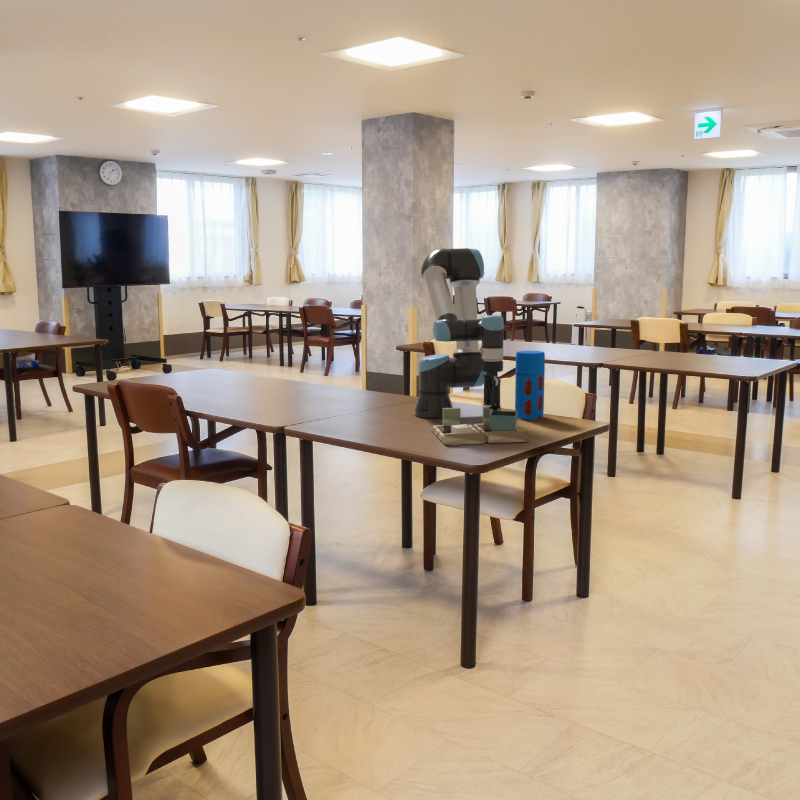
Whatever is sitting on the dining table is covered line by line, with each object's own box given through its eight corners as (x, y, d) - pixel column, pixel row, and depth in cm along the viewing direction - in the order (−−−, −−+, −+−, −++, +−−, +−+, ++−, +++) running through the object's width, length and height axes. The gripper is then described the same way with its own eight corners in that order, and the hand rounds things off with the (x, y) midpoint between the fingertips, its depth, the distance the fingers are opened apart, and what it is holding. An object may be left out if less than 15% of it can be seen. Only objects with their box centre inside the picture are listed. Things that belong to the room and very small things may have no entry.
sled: (432, 430, 292) (431, 408, 291) (469, 429, 294) (469, 407, 293) (444, 444, 270) (444, 420, 269) (485, 443, 272) (485, 419, 270)
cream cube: (451, 440, 279) (451, 425, 278) (464, 439, 280) (465, 424, 280) (456, 443, 274) (456, 428, 273) (470, 442, 276) (470, 427, 275)
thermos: (549, 417, 318) (550, 352, 314) (530, 420, 311) (531, 354, 307) (527, 413, 326) (529, 350, 322) (509, 416, 320) (510, 352, 315)
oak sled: (472, 429, 294) (472, 407, 293) (509, 428, 296) (509, 405, 295) (488, 443, 272) (488, 419, 271) (528, 441, 274) (528, 417, 272)
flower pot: (515, 442, 274) (516, 415, 272) (489, 441, 276) (489, 415, 274) (517, 437, 282) (517, 411, 281) (491, 436, 284) (491, 410, 283)
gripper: (475, 357, 299) (475, 420, 303) (488, 363, 280) (487, 430, 284) (495, 356, 300) (495, 419, 304) (510, 362, 282) (509, 429, 285)
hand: (491, 424), depth 294 cm, fingers open, 6 cm apart
